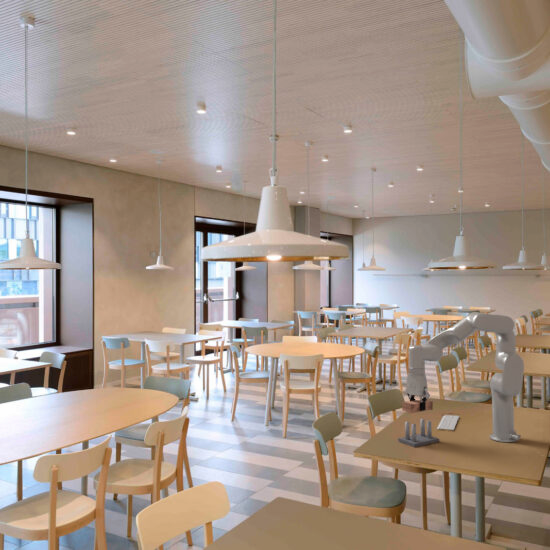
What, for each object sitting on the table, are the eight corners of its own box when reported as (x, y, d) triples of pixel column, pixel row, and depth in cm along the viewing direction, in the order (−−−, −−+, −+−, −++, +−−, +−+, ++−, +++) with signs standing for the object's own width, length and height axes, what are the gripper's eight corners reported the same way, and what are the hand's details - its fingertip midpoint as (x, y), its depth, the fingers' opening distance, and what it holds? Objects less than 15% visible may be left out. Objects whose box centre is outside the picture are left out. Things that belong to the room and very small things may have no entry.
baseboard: (433, 430, 284) (453, 432, 280) (433, 425, 284) (453, 427, 280) (440, 417, 311) (459, 418, 307) (440, 412, 311) (459, 413, 307)
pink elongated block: (411, 413, 257) (410, 404, 257) (402, 410, 262) (402, 402, 262) (432, 409, 264) (432, 401, 264) (423, 407, 269) (423, 399, 269)
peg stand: (439, 441, 262) (438, 421, 262) (414, 447, 254) (413, 426, 254) (422, 436, 272) (422, 417, 272) (398, 441, 264) (397, 421, 264)
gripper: (398, 369, 269) (399, 406, 269) (424, 374, 254) (424, 413, 254) (410, 368, 273) (410, 404, 273) (436, 373, 258) (436, 411, 258)
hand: (417, 408), depth 263 cm, fingers closed on pink elongated block, 6 cm apart
